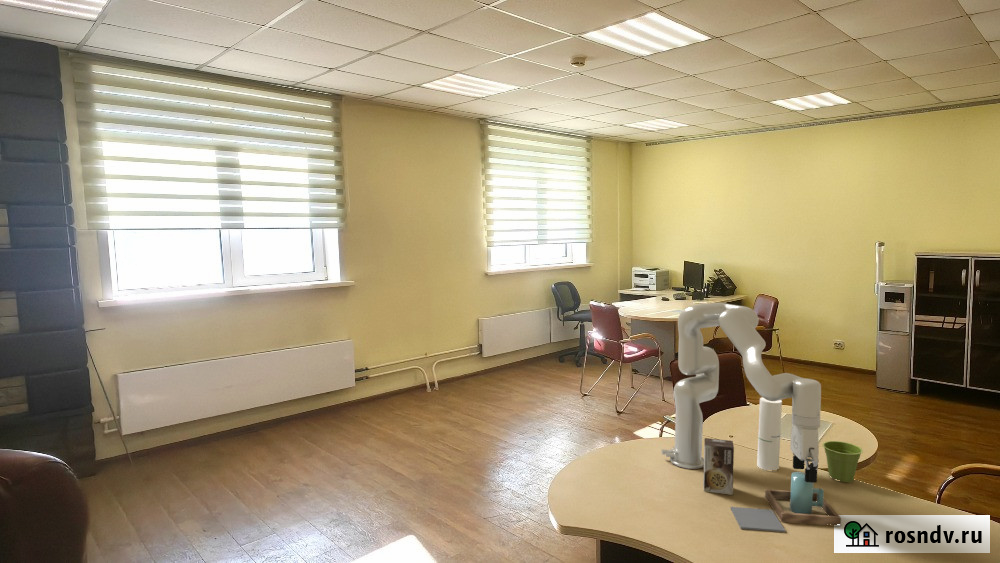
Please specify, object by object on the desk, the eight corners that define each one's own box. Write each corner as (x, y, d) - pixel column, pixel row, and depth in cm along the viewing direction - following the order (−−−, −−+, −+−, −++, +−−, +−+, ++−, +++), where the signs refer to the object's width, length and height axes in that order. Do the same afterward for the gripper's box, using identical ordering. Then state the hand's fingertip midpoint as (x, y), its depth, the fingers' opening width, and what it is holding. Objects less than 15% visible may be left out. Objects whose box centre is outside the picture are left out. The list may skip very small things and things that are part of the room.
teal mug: (793, 514, 169) (795, 479, 168) (786, 505, 175) (788, 471, 174) (825, 517, 168) (827, 481, 167) (817, 507, 174) (819, 473, 173)
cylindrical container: (782, 471, 200) (785, 403, 198) (762, 471, 200) (765, 403, 198) (773, 463, 207) (776, 397, 205) (753, 463, 207) (756, 396, 205)
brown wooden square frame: (781, 521, 165) (782, 513, 165) (765, 496, 181) (765, 489, 181) (840, 526, 163) (840, 518, 163) (818, 500, 179) (818, 492, 178)
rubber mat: (740, 528, 161) (741, 527, 161) (730, 508, 173) (730, 506, 173) (785, 532, 160) (785, 530, 160) (771, 511, 171) (771, 509, 171)
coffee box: (731, 487, 188) (733, 440, 186) (733, 495, 182) (734, 447, 180) (702, 483, 191) (704, 437, 189) (703, 491, 185) (704, 444, 183)
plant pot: (826, 468, 202) (828, 438, 201) (864, 478, 194) (866, 447, 193) (816, 478, 194) (818, 447, 193) (855, 489, 186) (857, 456, 185)
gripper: (782, 411, 178) (781, 463, 180) (803, 429, 161) (801, 486, 162) (808, 411, 177) (806, 464, 178) (831, 430, 160) (829, 488, 161)
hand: (804, 475), depth 170 cm, fingers open, 9 cm apart
